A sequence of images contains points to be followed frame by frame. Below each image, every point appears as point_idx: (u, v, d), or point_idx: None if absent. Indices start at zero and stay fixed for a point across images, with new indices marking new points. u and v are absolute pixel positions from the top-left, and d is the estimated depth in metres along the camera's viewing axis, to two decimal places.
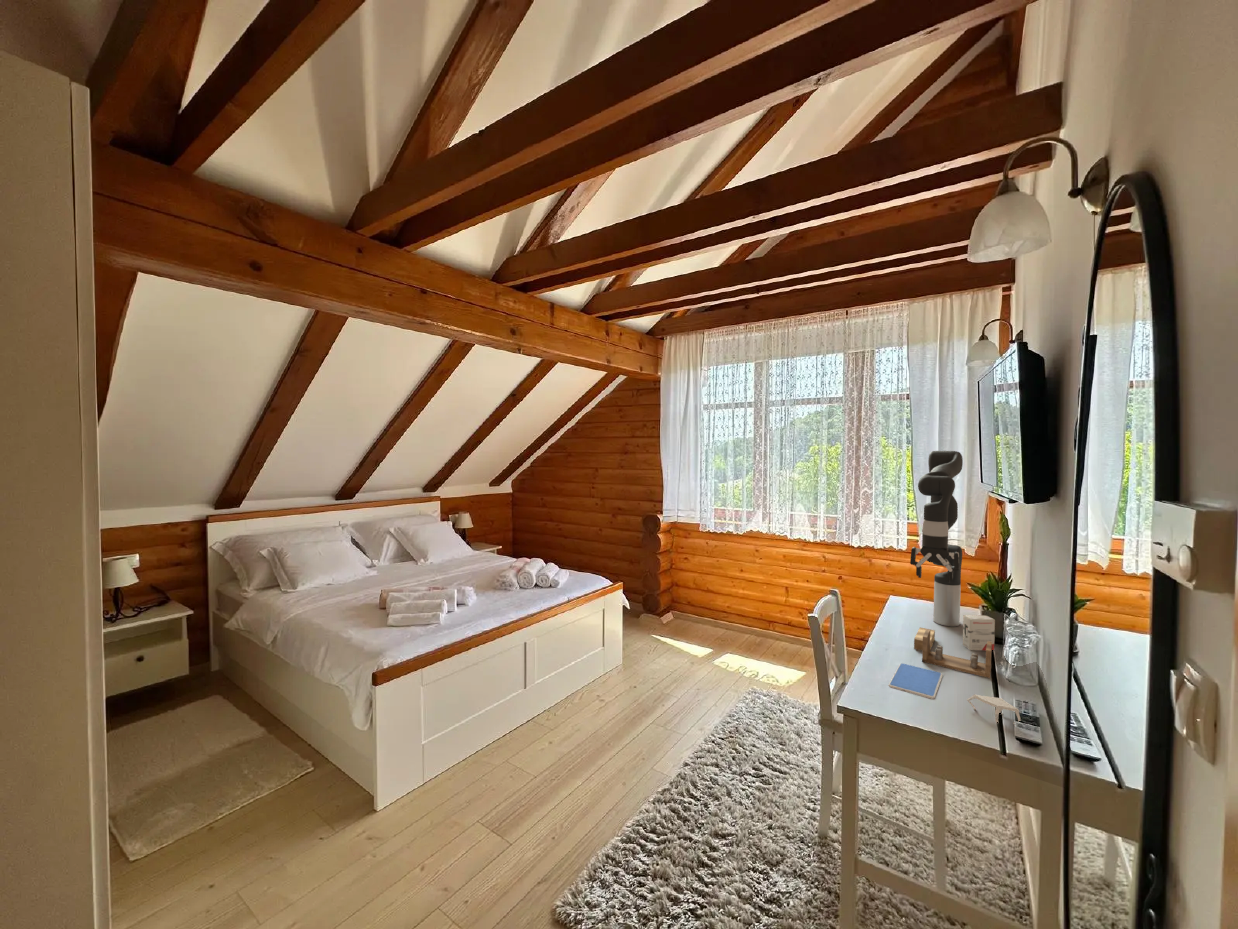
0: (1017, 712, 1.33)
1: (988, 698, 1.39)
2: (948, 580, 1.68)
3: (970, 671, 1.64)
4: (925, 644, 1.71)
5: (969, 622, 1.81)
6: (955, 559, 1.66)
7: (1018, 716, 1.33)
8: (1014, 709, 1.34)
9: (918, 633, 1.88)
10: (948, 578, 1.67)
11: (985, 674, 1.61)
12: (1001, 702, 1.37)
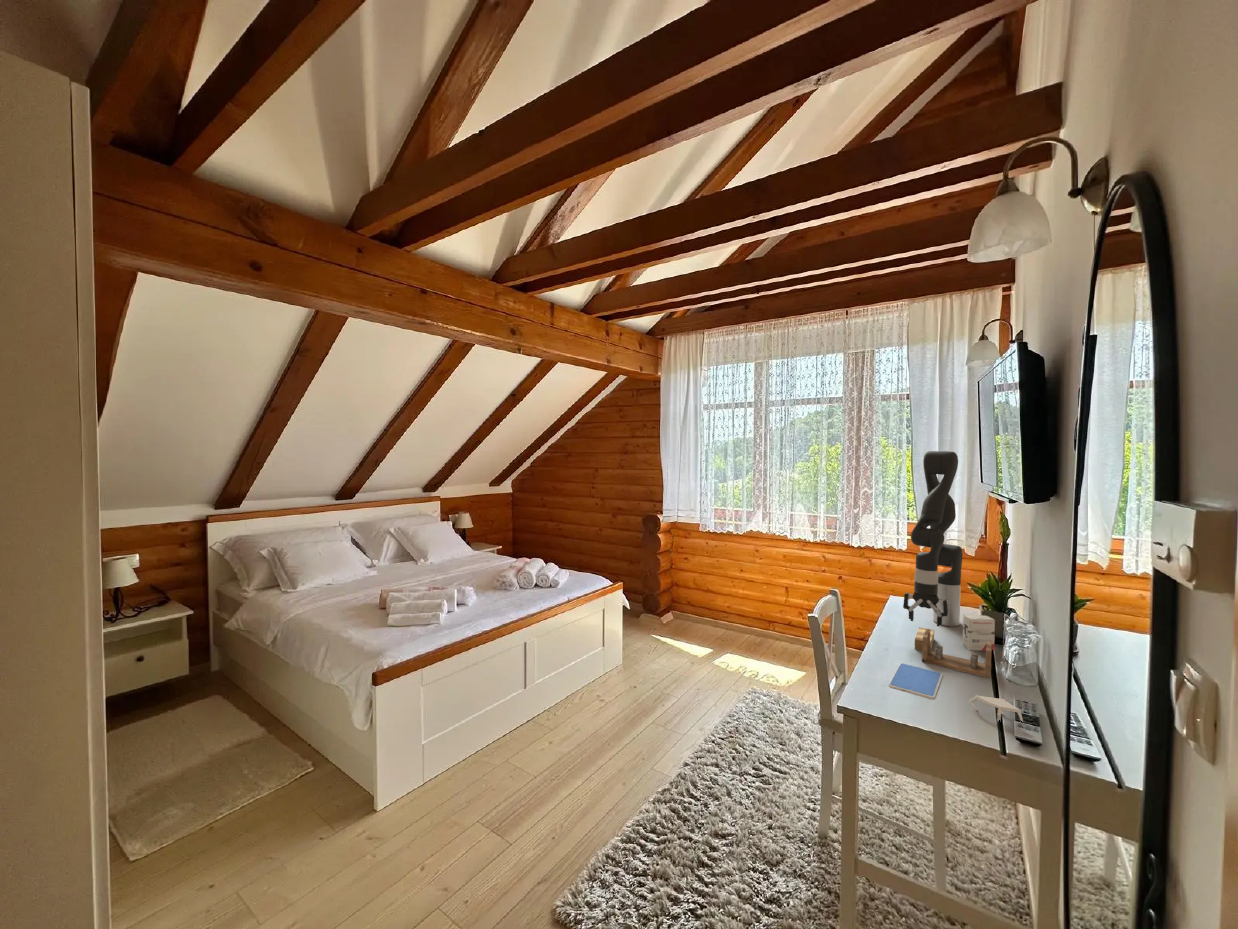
0: (1019, 713, 1.33)
1: (990, 699, 1.39)
2: (938, 624, 1.82)
3: (970, 671, 1.64)
4: (925, 644, 1.71)
5: (970, 622, 1.81)
6: (944, 606, 1.81)
7: (1020, 717, 1.33)
8: (1016, 710, 1.34)
9: (918, 633, 1.88)
10: (938, 623, 1.82)
11: (985, 674, 1.61)
12: (1003, 703, 1.37)
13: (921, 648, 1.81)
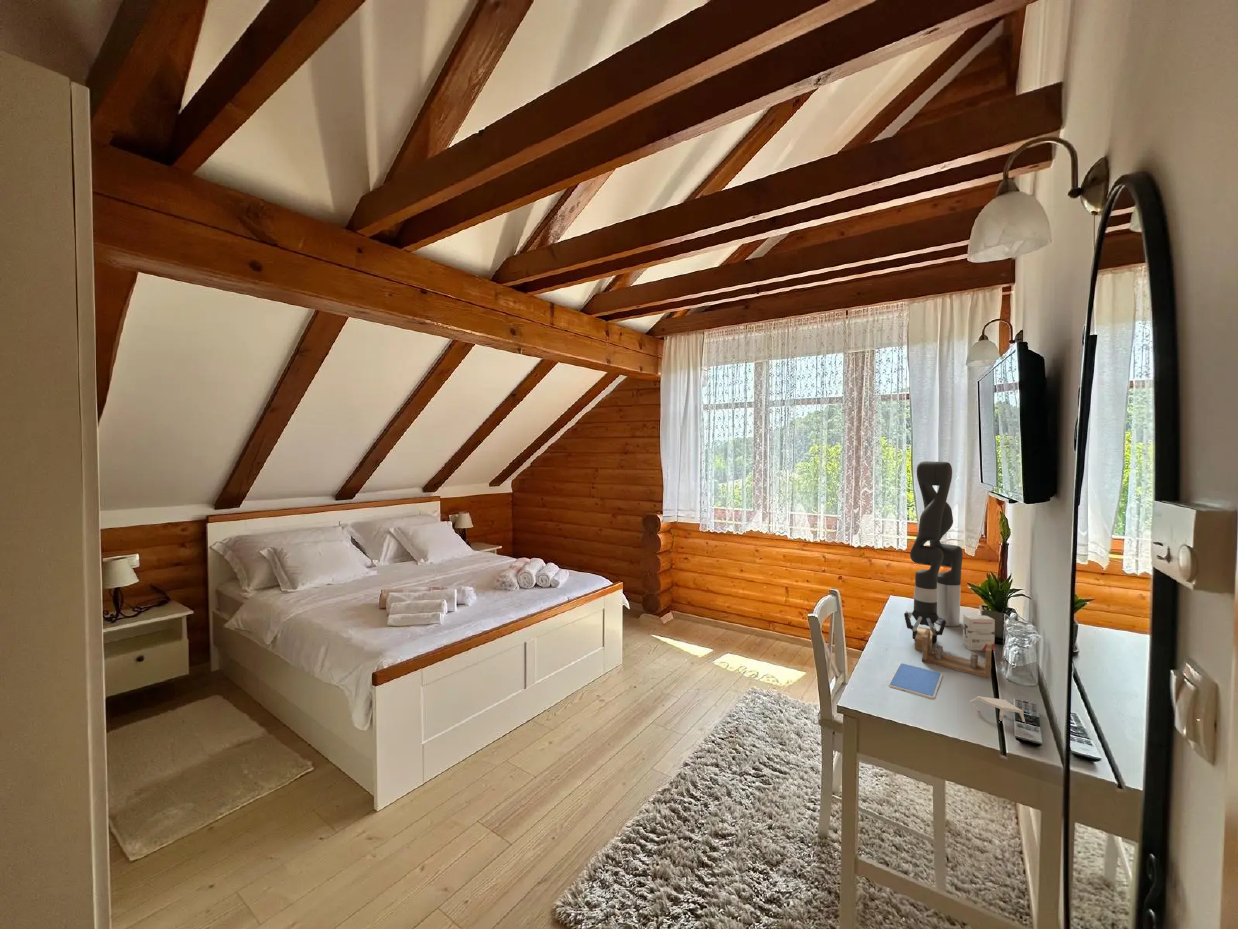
0: (1021, 714, 1.33)
1: (992, 700, 1.38)
2: (933, 643, 1.84)
3: (970, 671, 1.64)
4: (925, 644, 1.71)
5: (970, 622, 1.81)
6: (942, 625, 1.82)
7: (1022, 718, 1.32)
8: (1018, 711, 1.33)
9: (918, 632, 1.88)
10: (933, 641, 1.84)
11: (985, 674, 1.61)
12: (1005, 703, 1.36)
13: (921, 647, 1.81)
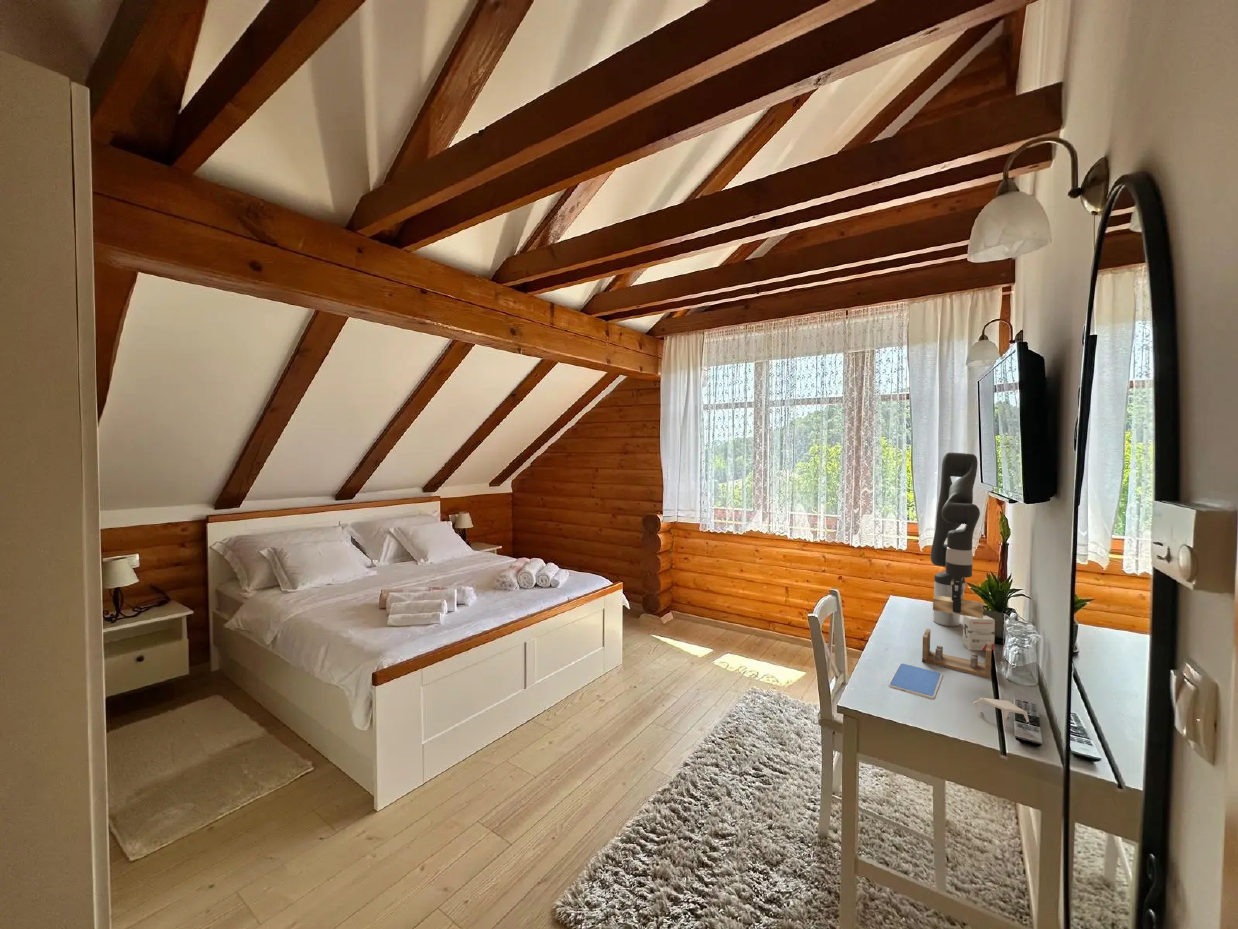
0: (1025, 715, 1.32)
1: (995, 701, 1.38)
2: (953, 609, 1.67)
3: (970, 671, 1.64)
4: (925, 644, 1.71)
5: (969, 622, 1.81)
6: (952, 590, 1.65)
7: (1027, 719, 1.32)
8: (1022, 712, 1.33)
9: None
10: (953, 607, 1.67)
11: (985, 674, 1.61)
12: (1008, 704, 1.36)
13: None
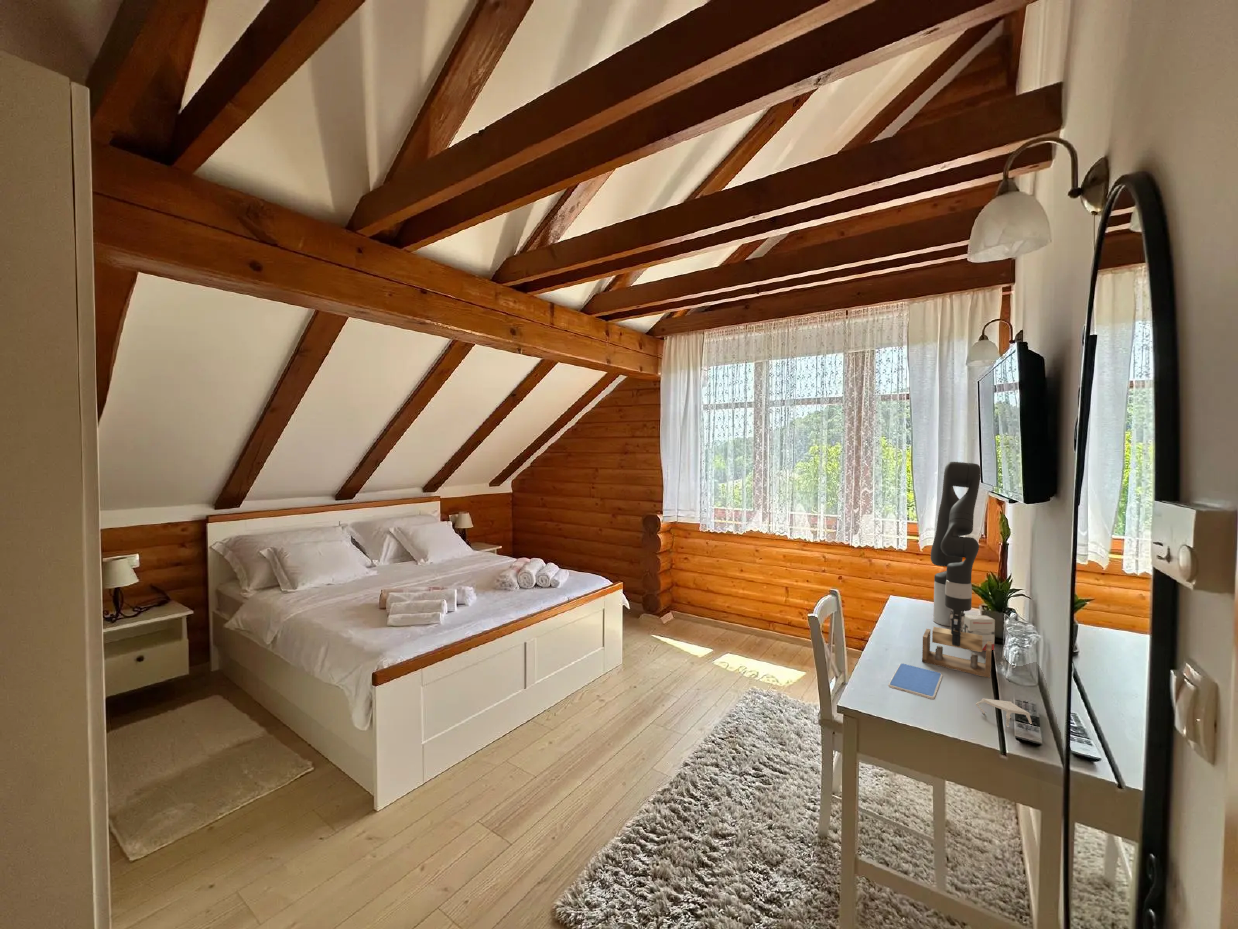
0: (1028, 716, 1.32)
1: (998, 702, 1.37)
2: (952, 642, 1.68)
3: (970, 671, 1.64)
4: (925, 644, 1.71)
5: (969, 622, 1.81)
6: None
7: (1029, 720, 1.31)
8: (1025, 713, 1.32)
9: None
10: (952, 640, 1.68)
11: (985, 674, 1.61)
12: (1011, 705, 1.35)
13: None
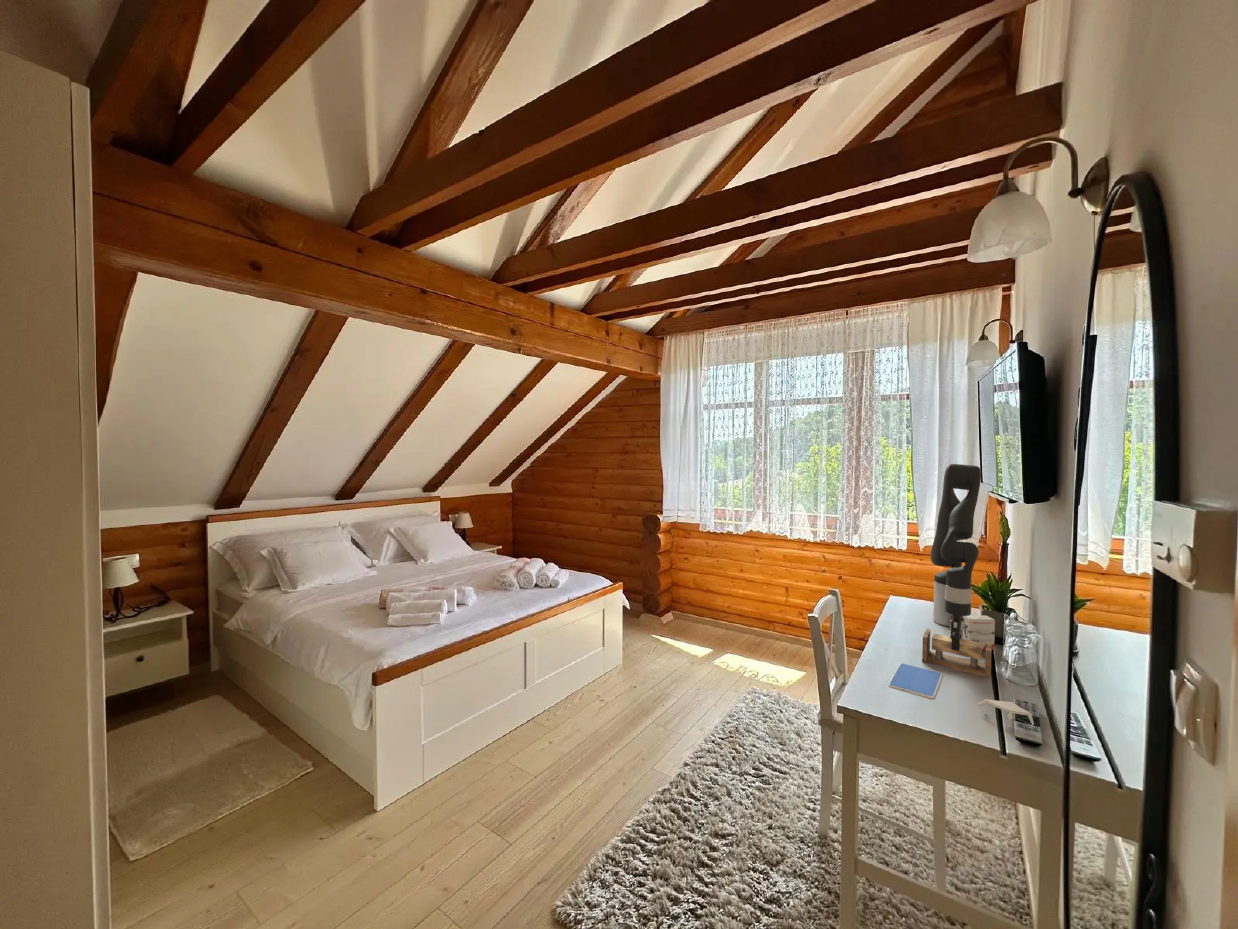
0: (1030, 716, 1.31)
1: (999, 703, 1.37)
2: (951, 647, 1.67)
3: (970, 671, 1.64)
4: (925, 644, 1.71)
5: (969, 622, 1.81)
6: (951, 627, 1.65)
7: (1031, 720, 1.31)
8: (1027, 713, 1.32)
9: None
10: None
11: (985, 674, 1.61)
12: (1012, 706, 1.35)
13: None
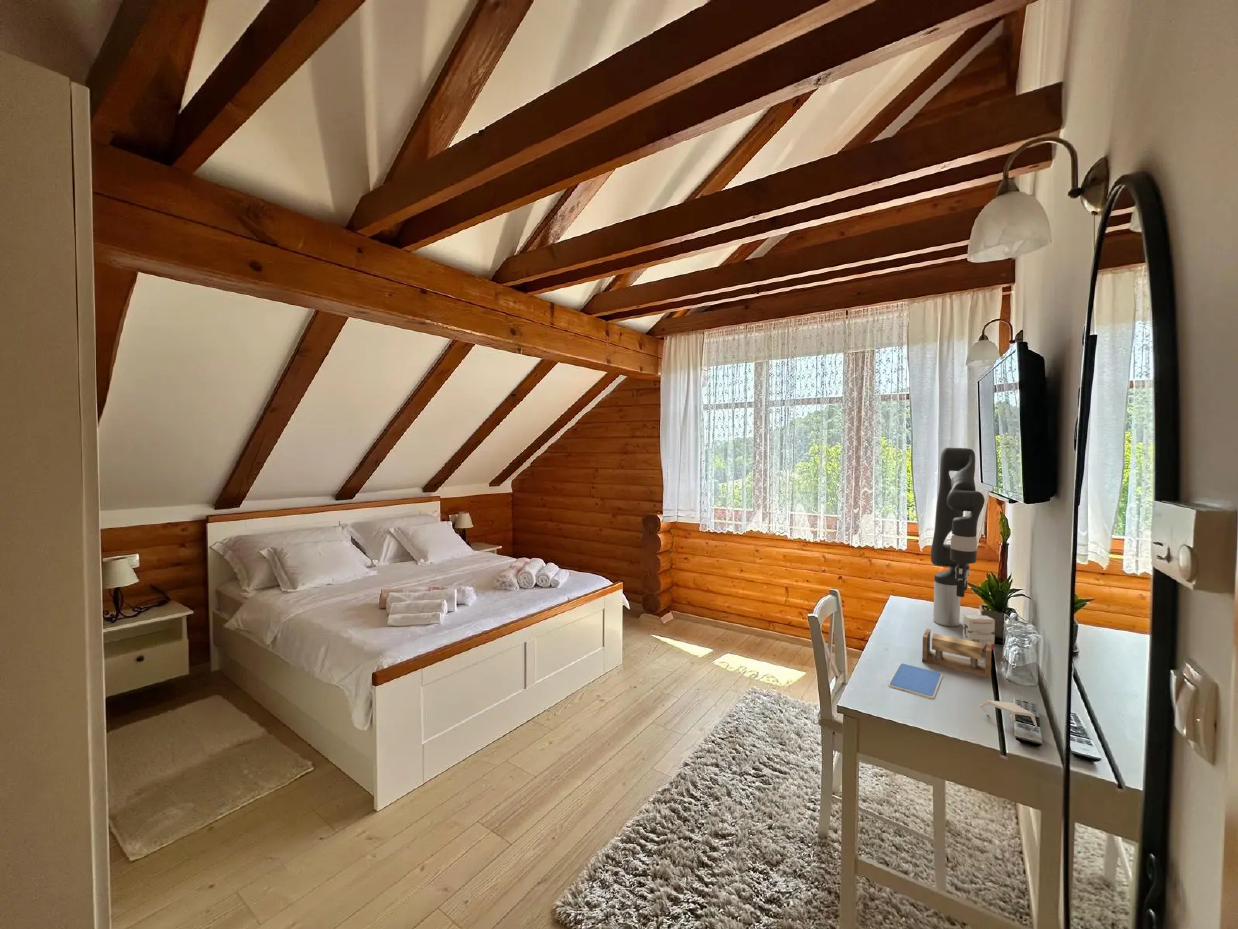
0: (1033, 717, 1.31)
1: (1002, 704, 1.36)
2: (956, 594, 1.70)
3: (970, 671, 1.64)
4: (925, 644, 1.71)
5: (970, 622, 1.81)
6: (956, 573, 1.68)
7: (1034, 721, 1.31)
8: (1030, 714, 1.31)
9: (956, 638, 1.71)
10: (956, 592, 1.70)
11: (985, 674, 1.61)
12: (1015, 707, 1.35)
13: None
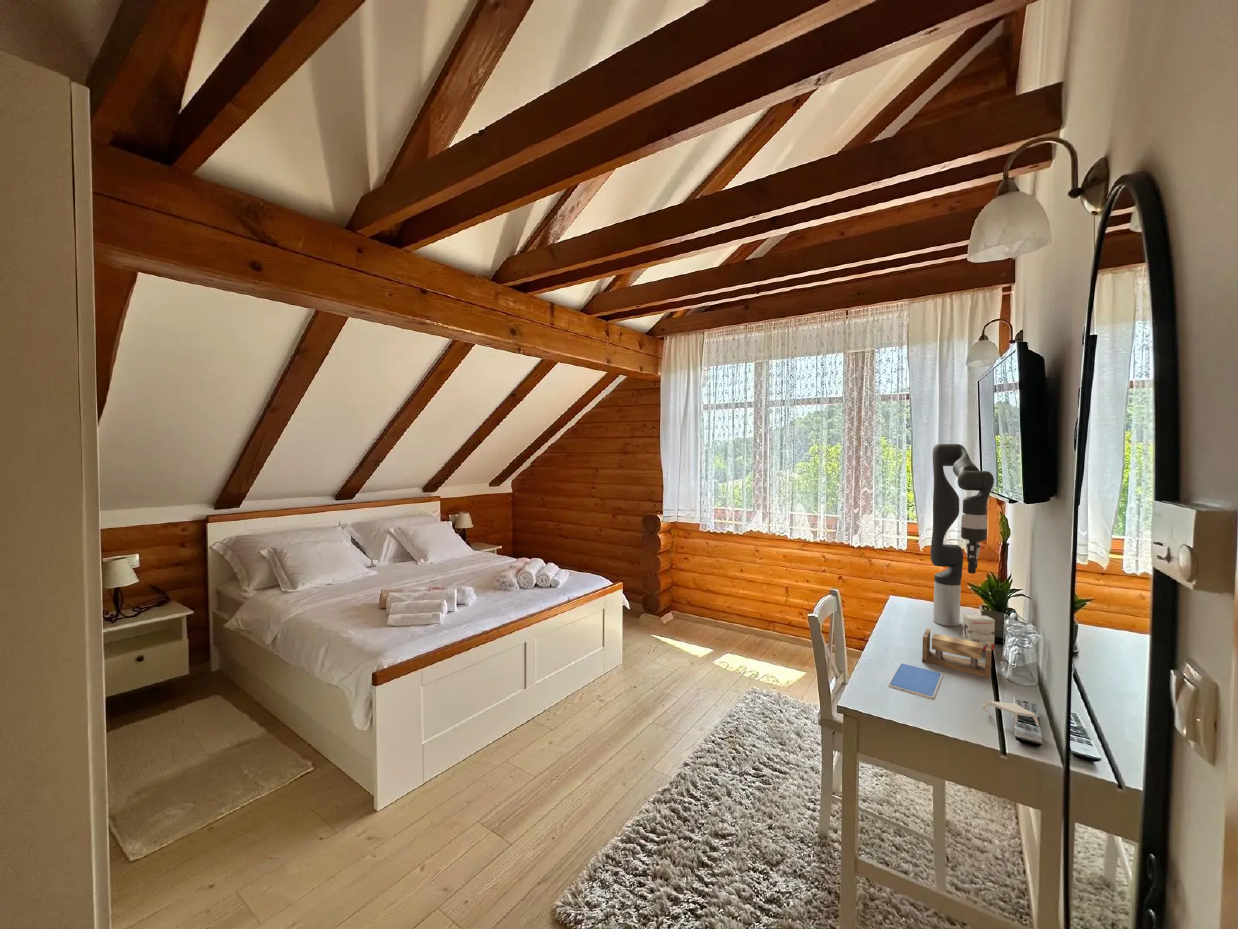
0: (1035, 718, 1.31)
1: (1004, 704, 1.36)
2: (968, 570, 1.75)
3: (970, 671, 1.64)
4: (925, 644, 1.71)
5: (969, 622, 1.81)
6: (967, 550, 1.73)
7: (1037, 722, 1.30)
8: (1032, 715, 1.31)
9: (956, 638, 1.71)
10: (968, 569, 1.75)
11: (985, 674, 1.61)
12: (1017, 707, 1.34)
13: None
